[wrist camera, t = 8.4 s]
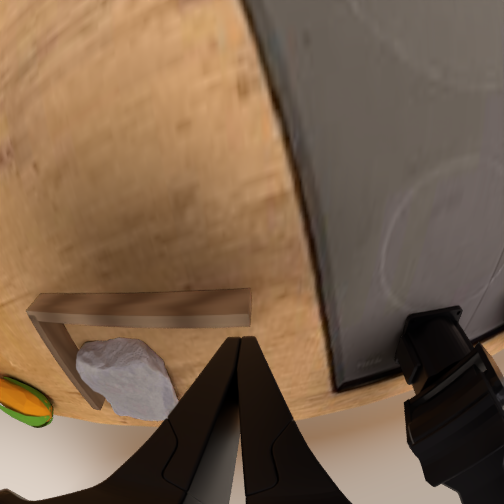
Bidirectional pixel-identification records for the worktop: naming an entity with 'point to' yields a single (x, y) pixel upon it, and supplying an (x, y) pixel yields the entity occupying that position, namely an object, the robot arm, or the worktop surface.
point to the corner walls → (131, 319)
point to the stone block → (128, 377)
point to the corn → (25, 403)
